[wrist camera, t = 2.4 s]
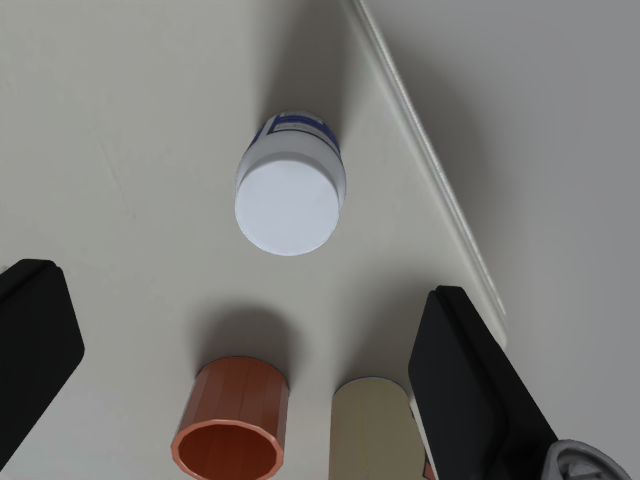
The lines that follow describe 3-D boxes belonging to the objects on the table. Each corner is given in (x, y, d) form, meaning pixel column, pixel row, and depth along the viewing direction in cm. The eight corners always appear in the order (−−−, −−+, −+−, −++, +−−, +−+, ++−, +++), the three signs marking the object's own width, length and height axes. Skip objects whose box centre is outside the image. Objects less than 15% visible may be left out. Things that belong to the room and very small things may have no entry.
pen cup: (291, 359, 34) (285, 423, 28) (286, 422, 38) (281, 489, 32) (191, 353, 33) (165, 416, 28) (198, 418, 38) (176, 484, 32)
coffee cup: (403, 434, 39) (435, 578, 29) (318, 428, 39) (318, 573, 28) (426, 374, 35) (473, 517, 24) (329, 366, 34) (335, 509, 24)
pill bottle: (288, 206, 27) (274, 286, 18) (237, 141, 24) (192, 196, 16) (355, 162, 25) (375, 226, 16) (307, 89, 23) (300, 117, 14)
